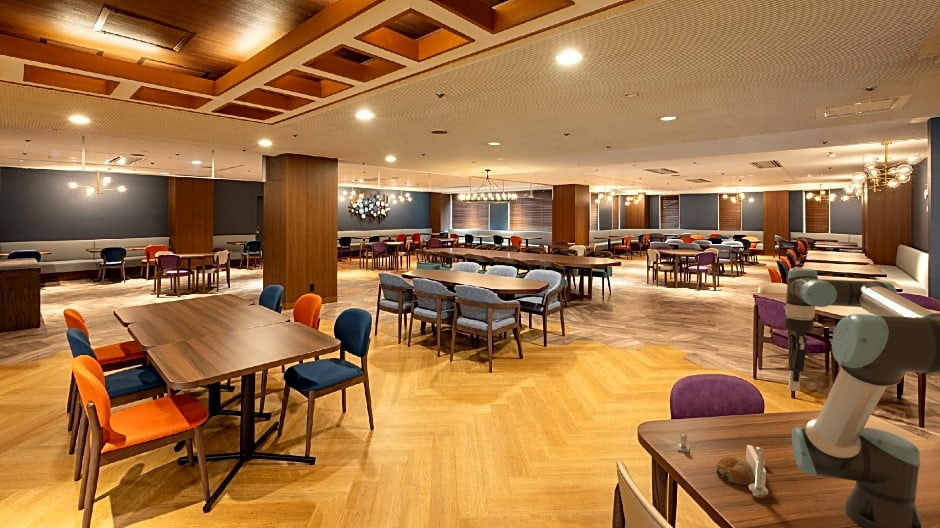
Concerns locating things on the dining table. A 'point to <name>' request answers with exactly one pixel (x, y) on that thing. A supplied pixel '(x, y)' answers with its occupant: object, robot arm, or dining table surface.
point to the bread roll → (735, 470)
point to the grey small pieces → (685, 448)
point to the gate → (754, 461)
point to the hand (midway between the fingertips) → (793, 390)
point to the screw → (758, 479)
